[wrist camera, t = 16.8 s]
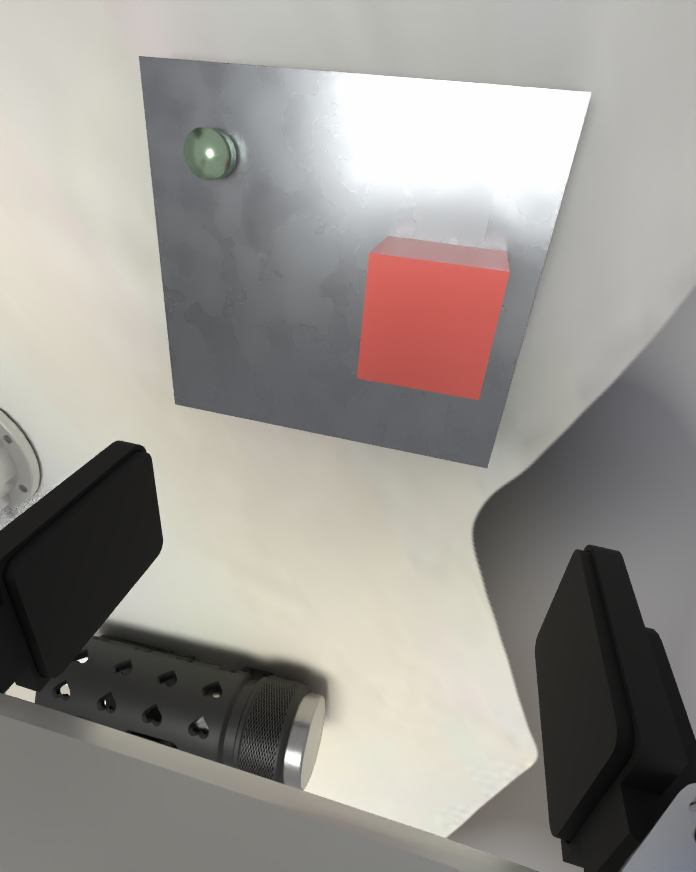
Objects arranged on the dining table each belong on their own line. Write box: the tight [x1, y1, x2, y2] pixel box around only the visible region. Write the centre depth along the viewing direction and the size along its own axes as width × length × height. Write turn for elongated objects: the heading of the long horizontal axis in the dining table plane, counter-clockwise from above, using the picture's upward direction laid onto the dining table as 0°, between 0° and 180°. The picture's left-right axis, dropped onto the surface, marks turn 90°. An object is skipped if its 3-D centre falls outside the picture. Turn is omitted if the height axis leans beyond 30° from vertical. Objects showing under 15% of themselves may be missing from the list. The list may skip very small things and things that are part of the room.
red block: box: [357, 236, 510, 400], centre depth 26 cm, size 6×6×5 cm
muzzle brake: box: [35, 635, 325, 790], centre depth 52 cm, size 10×28×10 cm, turn 90°
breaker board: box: [139, 56, 592, 468], centre depth 30 cm, size 20×22×4 cm
